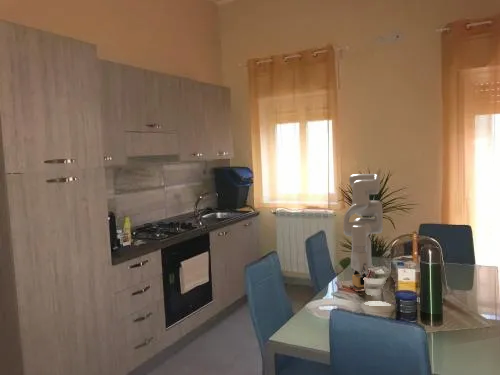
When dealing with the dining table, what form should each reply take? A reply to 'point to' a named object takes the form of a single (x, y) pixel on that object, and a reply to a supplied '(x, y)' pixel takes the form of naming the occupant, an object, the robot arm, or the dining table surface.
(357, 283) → the orange cube
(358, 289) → the base plate
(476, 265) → the dining table surface
